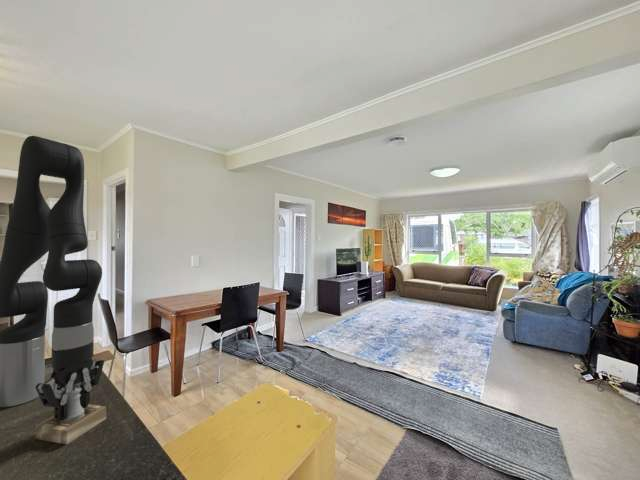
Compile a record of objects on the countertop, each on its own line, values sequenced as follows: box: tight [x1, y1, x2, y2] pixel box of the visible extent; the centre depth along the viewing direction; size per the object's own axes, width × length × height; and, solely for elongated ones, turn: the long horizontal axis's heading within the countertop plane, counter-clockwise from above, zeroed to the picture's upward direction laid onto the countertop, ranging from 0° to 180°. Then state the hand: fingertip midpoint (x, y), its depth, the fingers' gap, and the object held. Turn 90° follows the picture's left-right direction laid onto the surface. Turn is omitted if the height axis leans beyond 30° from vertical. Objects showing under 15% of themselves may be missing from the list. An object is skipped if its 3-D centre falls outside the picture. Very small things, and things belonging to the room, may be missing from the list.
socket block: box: [35, 403, 107, 445], centre depth 65 cm, size 9×9×3 cm
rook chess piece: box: [60, 384, 85, 425], centre depth 65 cm, size 4×4×8 cm
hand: (72, 412), depth 65 cm, fingers closed on rook chess piece, 4 cm apart
